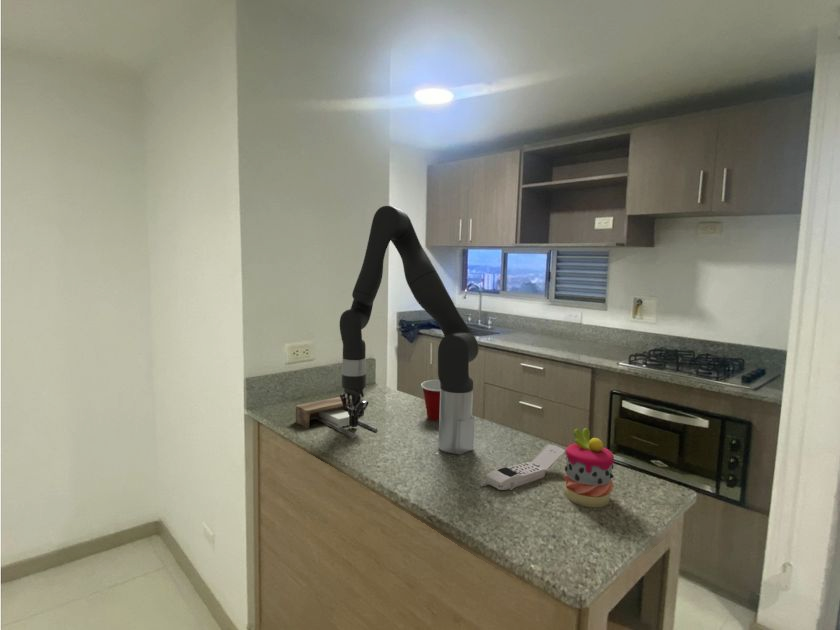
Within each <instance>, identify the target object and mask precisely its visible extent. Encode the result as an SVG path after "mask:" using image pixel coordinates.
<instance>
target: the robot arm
mask: <svg viewBox="0 0 840 630" xmlns="http://www.w3.org/2000/svg"><path fill="white" fill-rule="evenodd" d="M390 242H391V243H392V244H393V245H394V247H395V249H396V251H397V252H398V255H399V256H400V258H401V262H402V265H403V266H402V267H403V273H404V278H405V281H406V285H408V287H409V289H410V292H411V294H412V295H413V297H414V299H415V301H416V303H418V304H419V306H420V307H421V309H423V310H424V311H425V312H426V314H428V315H429V316H430V317H431V318H432V319H433V320H434V321H435V322H436V323H437V325H438V326H439V328H440V330H441V331H442V334H443V337H442V339H441V340H440V341H439V343H438V344H439V345H438V348H437V349H438V350H437V375H438V376H437V377H438V380H439V381H440V412H439V420H438V423H439V424H438V446H437V448H439V450H441V451H442V452H445V453H450V454H456V455H462V454H464V453H467V452H470V451H473V450H474V443H475V442H474V439H475V420H476V419H475V417H474V416H473V399H474V397H473V395H474V381H473V379H472V378H471V377H470V374H469V372H470V371H469V369H470V368H469V363H471V362H472V361H474V360H475V359H476V358H477V356H478V355H479V343H478V340H477V338H476V336H475V335H474V334H473V332H472V331H471V329H470V328H469V326H468V324H467V323H466V322H465V321H464V319H463V318H462V316H461V314H460V312H459V311H458V309H457V308H456V305H455V303H454V302H453V299H452V297H451V296H450V294H449V292H448V290H447V289H446V286H445V284H444V282H443V281H442V278H441V276H440V275H439V273H438V272H437V269H436V268H435V266H434V265H433V262H432V261H431V259H430V258H429V256H428V254H427V253H426V251H425V250H424V248H423V247H422V244H421V243H420V240H419V238H418V236H417V233H416V230H415V228H414V226H413V223H412V221H411V219H410V217H409V215H408V214H407V213H406V212H405V211H403V210H402V209H400V208H398V207H395V206H392V205H383V206H380V207H379V208H378V209H377V210H376V212H375V213H374V215H373V218H372V222H371V226H370V232H369V236H368V241H367V245H366V249H365V254H364V259H363V263H362V264H361V269H360V271H359V274H358V277H357V280H356V282H355V284H354V287H353V290H352V294H351V296H352V299H353V300H352V304H351V307H350V309H345V311H343V312H342V313H341V315H340V319H339V331H340V336H341V337H340V338H341V343H342V362H341V388H343V389H344V390H343V391H344V392H342V393H340V394H339V397H340V398H341V401H342V403H343V406H344V409H345V411H347V412H348V414H349V425H348V426H349V427H351V428H356V427H358V426H359V424H358V420H359V416H360V415H361V414H363V412H364V413H365V410H366V409H367V407H368V405H369V400H365V398H364V397H365V394H364V389H365V388H366V386H367V360H366V346H367V345H366V342H365V341H364V340H363V333H362V330H363V329H364V328H366V327H367V325H368V323H369V322H370V318H371V315H372V311H373V307H374V306H373V305H374V301H375V299H376V297H377V294H378V291H379V289H380V286H381V283H382V279H383V275H384V274H383V272H384V260H385V256H386V252H387V248H388V246H389V244H390ZM363 415H364V414H363Z"/></svg>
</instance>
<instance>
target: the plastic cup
mask: <svg viewBox="0 0 840 630" xmlns="http://www.w3.org/2000/svg"><path fill="white" fill-rule="evenodd" d="M420 387H421V388H422V391H423V397H424V402H425V409H426V415H427V416H426V417H427V419H429V420H430V421H439V412H440V381H439V379H429V380H425V381H423V382H421V384H420Z"/></svg>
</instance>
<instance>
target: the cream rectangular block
mask: <svg viewBox="0 0 840 630" xmlns="http://www.w3.org/2000/svg"><path fill="white" fill-rule="evenodd" d="M319 417H321V418H323V419H325V420H327V421H329V422H331V423H333V424H335V425H337V426H339V427H341V428H343V426H344V427H348V426H349V414H348V412H347V411H345V410H342V409H340V408H338V407H336V408H332V409H327V410H322V411H319ZM347 425H348V426H347Z"/></svg>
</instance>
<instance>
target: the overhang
mask: <svg viewBox="0 0 840 630" xmlns="http://www.w3.org/2000/svg"><path fill="white" fill-rule="evenodd" d="M336 407H338V408H340V409H342V410H345V409H344V406H343V403H342V401H341V398H340V396H337V397H332V398H326V399H321V400H317V401H312V402H311V401H310V402H306V403H300V404H296V405H295V422H296V423H297V424H299V425H300V426H303V427H304V428H306V429H307V428H310V420H317V422H318V421H319V422H320V423H322V424H325V425H326V426H328V427H331V428H332V429H334V430H336V431H338V432H340V433H342V434H344V435H346V436H348V437H350V438H352V439H354V438H355V437H356V435H355V433H353V432H352V431H349V430H348V429H346V428H343V427H339V426H337V425H335V424H333V423H331V422H329V421H327V420H325V419H323V418H321V417H319V411H322V410H327V409H332V408H336ZM360 415H361V416H362V415H365V411H364V412H363V414H360ZM359 425H360V426H361V427H364V428H366V429H368V430H371V431H372V432H376V433H377V432H378V427H375V426H373V425H371V424H369V423H367V422H365V421H363V420H360V419H358V426H359Z"/></svg>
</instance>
